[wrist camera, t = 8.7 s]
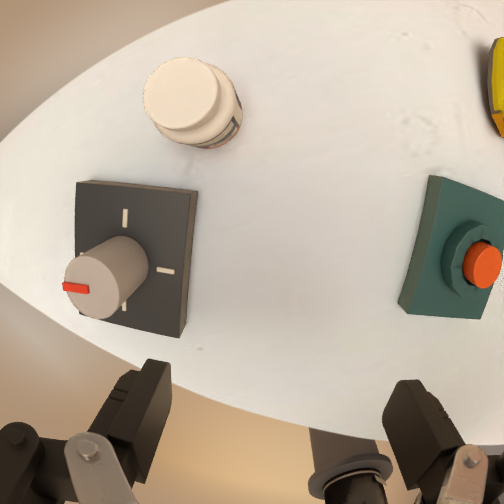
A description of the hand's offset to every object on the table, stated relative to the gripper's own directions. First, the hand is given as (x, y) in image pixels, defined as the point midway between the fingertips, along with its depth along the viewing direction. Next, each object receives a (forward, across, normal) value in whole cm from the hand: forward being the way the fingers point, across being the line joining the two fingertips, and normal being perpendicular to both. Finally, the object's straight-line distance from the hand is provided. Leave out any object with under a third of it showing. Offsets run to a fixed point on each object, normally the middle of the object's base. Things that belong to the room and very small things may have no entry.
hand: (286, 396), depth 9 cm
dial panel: (+16, +12, +1) cm, 20 cm away
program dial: (+13, +12, +1) cm, 18 cm away
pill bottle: (+16, +6, -11) cm, 20 cm away
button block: (+16, -18, -3) cm, 24 cm away
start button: (+12, -17, -3) cm, 22 cm away
